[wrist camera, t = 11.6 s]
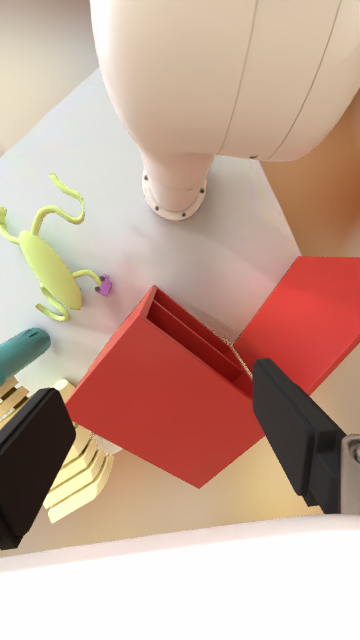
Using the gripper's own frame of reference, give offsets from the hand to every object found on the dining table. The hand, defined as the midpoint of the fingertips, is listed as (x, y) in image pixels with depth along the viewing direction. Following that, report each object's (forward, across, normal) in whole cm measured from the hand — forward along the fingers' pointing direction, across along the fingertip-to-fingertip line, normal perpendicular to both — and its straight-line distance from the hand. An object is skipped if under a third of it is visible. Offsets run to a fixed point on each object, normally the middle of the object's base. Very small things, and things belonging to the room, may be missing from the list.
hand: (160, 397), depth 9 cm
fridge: (+38, +1, +16) cm, 41 cm away
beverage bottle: (+38, +33, +9) cm, 51 cm away
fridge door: (+38, -25, +10) cm, 46 cm away
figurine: (+38, +22, -9) cm, 45 cm away
